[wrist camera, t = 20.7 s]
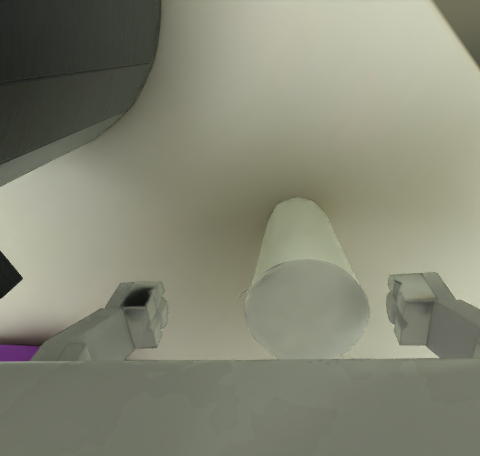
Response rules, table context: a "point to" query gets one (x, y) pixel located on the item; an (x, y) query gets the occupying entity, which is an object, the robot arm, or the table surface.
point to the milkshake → (304, 287)
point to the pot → (67, 79)
